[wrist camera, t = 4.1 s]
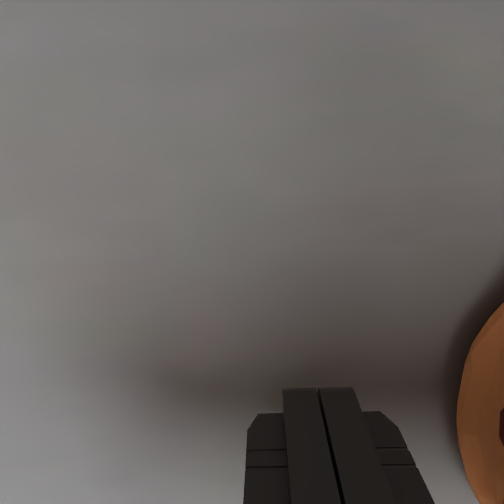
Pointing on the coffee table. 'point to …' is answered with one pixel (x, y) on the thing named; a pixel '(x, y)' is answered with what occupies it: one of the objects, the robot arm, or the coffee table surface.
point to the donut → (484, 412)
